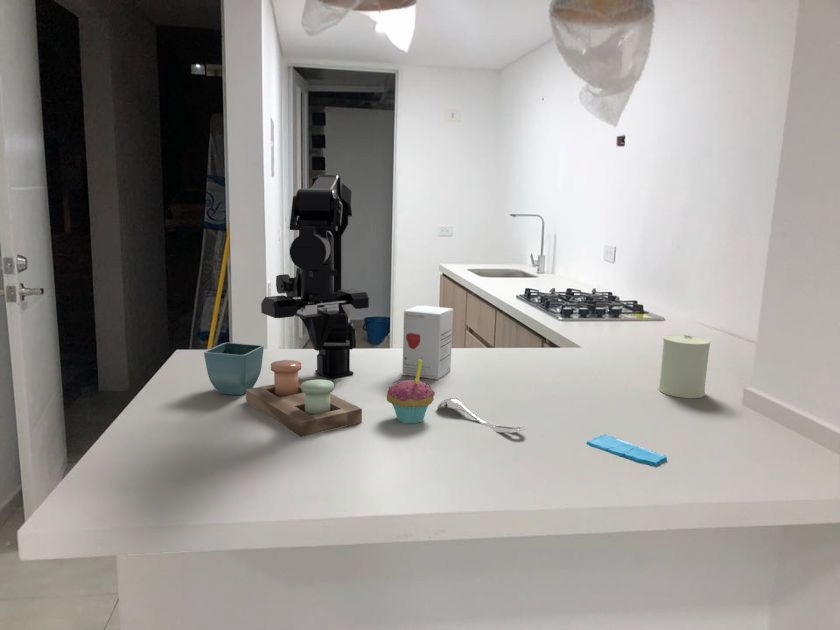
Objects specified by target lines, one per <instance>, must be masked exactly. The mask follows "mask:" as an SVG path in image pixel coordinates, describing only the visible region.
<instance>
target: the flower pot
mask: <svg viewBox="0 0 840 630" xmlns="http://www.w3.org/2000/svg"><path fill="white" fill-rule="evenodd" d="M264 348H265V345H262V344H261V345H260V344H248V343H246V344H245V343H239V342H238V343H237V342H223V343H221V344H219V345H216V346H214V347H212V348H209V349H207V350H205V351H204V352H203V355H204V361H205V366H206V371H207V375H208V378H209V381H210V383H211V384H212V386H213V388H214V389H215V390H216V391H217V392H218V394H226V395H235V396H236V395H237V396H242V395H244V394H246V389H251V388H254V386H255V385H256V383H257V381H258V379H259V378H260V377H259V376H260V375H261V371H262V366H263V357H264Z"/></svg>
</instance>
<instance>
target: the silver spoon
mask: <svg viewBox="0 0 840 630" xmlns="http://www.w3.org/2000/svg"><path fill="white" fill-rule="evenodd" d="M444 408H449V409H455V410H459V411H461V412H464V413H466V414H467V415H469V416H471V417H472V418H473V419H474V420H476V422H478V423H479V424H480V425H481V426H485V427H488V428H489V429H491V430H492V431H493V432H496V433H501V434H510V433H511V434H512V433H518V432H523V431H525V430H526V429H527V428H526V426H507V425H506V426H503V425H496V424H494V423H493V424H492V423H489V422H487V421H485V420H483V419H482V418H480V417H479V416H478V415H476V414H475V413H474V412H472V411H471V410H470V409H469V407H468V406H467V404H465V402H464V401H462V399H460V398H458V397H449V398H445V399H444V400H442V401H441V402H440V403H438V404H437V407H436V409H437V410H441V409H444Z"/></svg>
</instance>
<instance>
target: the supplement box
mask: <svg viewBox="0 0 840 630" xmlns="http://www.w3.org/2000/svg"><path fill="white" fill-rule="evenodd" d="M453 321H454V308H451V307H441V306H433V305H431V306H430V305H421V304H419V305H418V304H417V305H415V306H414V307H410V308H407V309H405V310H404V311H403V335H402V336H403V340H402V341H403V344H402V346H403V347H402V375H403V376H410V377H416V373H417V367H418V362H419V360H420V359H421V356H422V366H421V371H420V377H419V378H422V379H432V380H439V379H441V378H442V377H444V376H445V375H446V374H447V373H449V372H450V371H451V370H452V369H451V367H452V365H451V363H452V343H453V341H452V340H453Z"/></svg>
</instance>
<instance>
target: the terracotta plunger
mask: <svg viewBox="0 0 840 630" xmlns="http://www.w3.org/2000/svg"><path fill="white" fill-rule="evenodd" d="M301 369H302V363H301V362H300V361H299V360H294V359H293V360H292V359H283V360H277V361H273V362H272V363H270V370H271V371H272V372H273V374H274V375H273V376H274V378H273V380H274V382H273V383H274V384H275V395H276V396H277V397H284V396H289V395H294V394H298V380H299V371H301Z"/></svg>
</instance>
